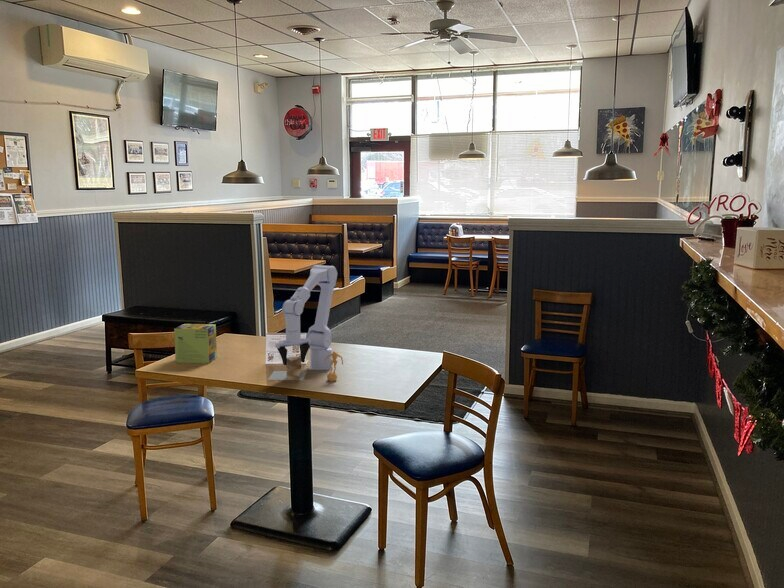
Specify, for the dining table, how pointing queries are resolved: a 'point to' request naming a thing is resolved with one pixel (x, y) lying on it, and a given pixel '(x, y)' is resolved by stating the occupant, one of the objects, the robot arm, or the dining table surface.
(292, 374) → the oak block
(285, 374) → the mat
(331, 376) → the figurine
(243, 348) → the dining table surface
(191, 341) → the protein box
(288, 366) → the walnut block
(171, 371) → the dining table surface
